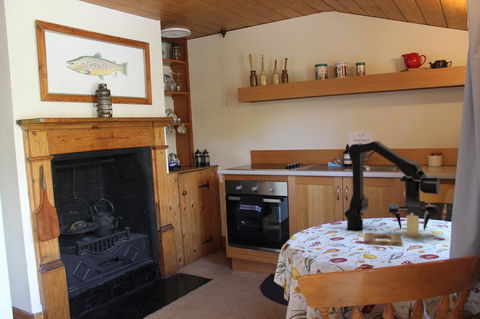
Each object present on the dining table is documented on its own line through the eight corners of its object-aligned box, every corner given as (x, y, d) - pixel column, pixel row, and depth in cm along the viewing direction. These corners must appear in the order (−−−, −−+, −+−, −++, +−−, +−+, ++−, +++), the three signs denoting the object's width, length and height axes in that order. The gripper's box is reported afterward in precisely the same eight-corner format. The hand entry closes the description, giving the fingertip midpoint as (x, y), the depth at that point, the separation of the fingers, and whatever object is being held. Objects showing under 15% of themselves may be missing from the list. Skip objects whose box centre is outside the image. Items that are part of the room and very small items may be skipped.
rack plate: (364, 246, 162) (364, 240, 161) (365, 238, 173) (365, 232, 173) (402, 248, 157) (402, 242, 157) (400, 240, 169) (400, 234, 168)
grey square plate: (404, 239, 169) (404, 237, 169) (402, 234, 177) (402, 232, 177) (422, 240, 167) (422, 238, 167) (420, 235, 175) (420, 233, 174)
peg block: (407, 236, 170) (407, 217, 170) (406, 233, 175) (406, 215, 174) (418, 236, 169) (418, 218, 168) (417, 234, 173) (417, 215, 172)
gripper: (389, 195, 166) (389, 232, 167) (440, 196, 160) (439, 235, 161) (388, 190, 176) (388, 226, 177) (435, 191, 170) (435, 228, 172)
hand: (412, 228), depth 172 cm, fingers open, 9 cm apart
